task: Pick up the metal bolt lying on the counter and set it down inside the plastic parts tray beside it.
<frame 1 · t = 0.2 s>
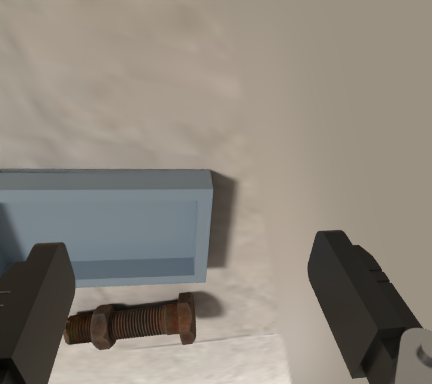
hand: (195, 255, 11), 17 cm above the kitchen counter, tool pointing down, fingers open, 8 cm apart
bolt: (132, 304, 41), on the kitchen counter
parts tray: (98, 221, 32), on the kitchen counter
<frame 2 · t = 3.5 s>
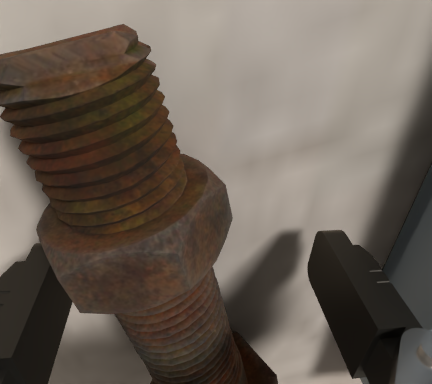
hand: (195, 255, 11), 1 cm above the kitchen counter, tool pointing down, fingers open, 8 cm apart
bolt: (172, 240, 12), on the kitchen counter
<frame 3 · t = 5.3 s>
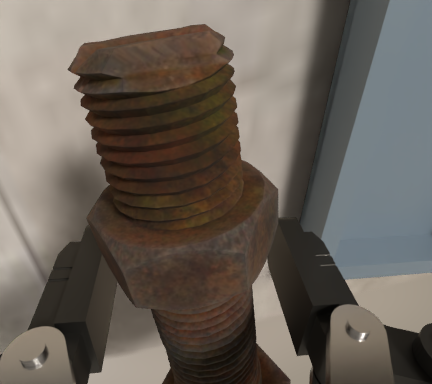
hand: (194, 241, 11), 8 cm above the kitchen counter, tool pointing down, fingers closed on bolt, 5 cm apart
bolt: (200, 240, 12), point 7 cm above the kitchen counter, touching gripper
parts tray: (429, 104, 18), on the kitchen counter
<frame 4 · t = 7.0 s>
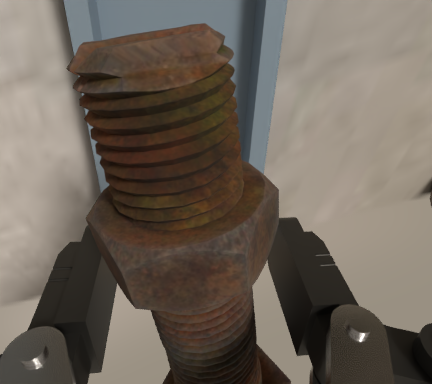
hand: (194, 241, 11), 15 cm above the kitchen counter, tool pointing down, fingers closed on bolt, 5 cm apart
bolt: (200, 241, 12), point 14 cm above the kitchen counter, touching gripper
parts tray: (180, 97, 24), on the kitchen counter
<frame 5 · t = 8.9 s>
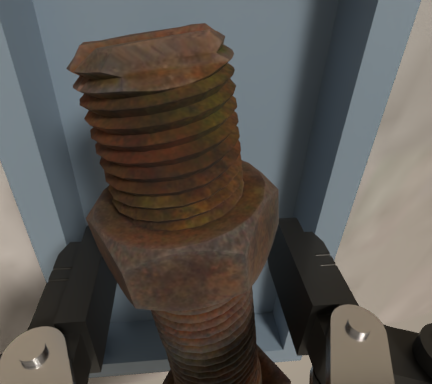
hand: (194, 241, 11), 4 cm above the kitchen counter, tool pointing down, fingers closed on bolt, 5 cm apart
bolt: (200, 241, 12), point 3 cm above the kitchen counter, touching gripper
parts tray: (192, 177, 15), on the kitchen counter
when the fingers open (3 cm above the kitchen counter, at t = 10.1 s): bolt drops 2 cm, resting on parts tray.
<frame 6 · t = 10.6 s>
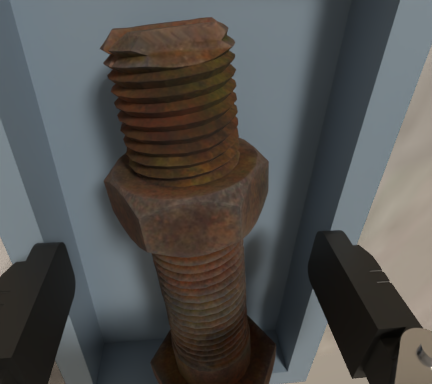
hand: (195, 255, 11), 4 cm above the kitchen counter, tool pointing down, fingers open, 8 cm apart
bolt: (198, 214, 14), resting on parts tray
parts tray: (190, 193, 14), on the kitchen counter
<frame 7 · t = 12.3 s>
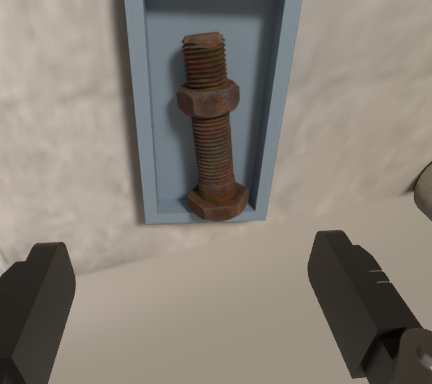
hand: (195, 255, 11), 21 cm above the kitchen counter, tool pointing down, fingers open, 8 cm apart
bolt: (210, 121, 29), resting on parts tray
parts tray: (207, 109, 29), on the kitchen counter
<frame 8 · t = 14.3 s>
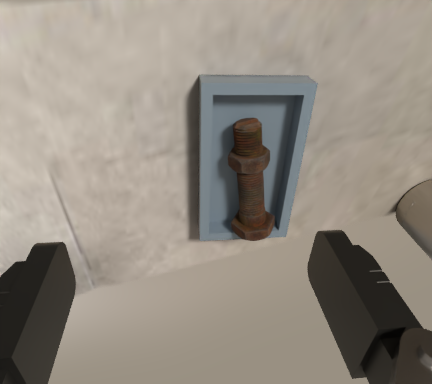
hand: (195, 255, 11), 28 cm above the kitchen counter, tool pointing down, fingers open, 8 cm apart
bolt: (247, 169, 42), resting on parts tray
parts tray: (246, 160, 41), on the kitchen counter
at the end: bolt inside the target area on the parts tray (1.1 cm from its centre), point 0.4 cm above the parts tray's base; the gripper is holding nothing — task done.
